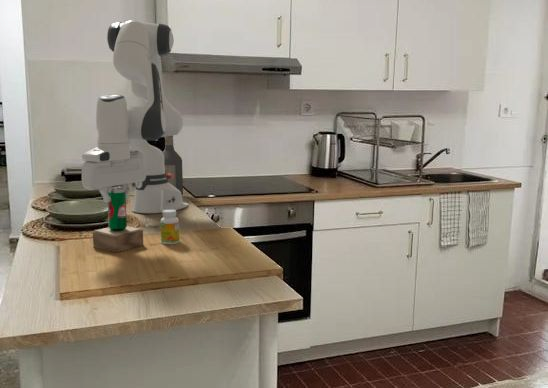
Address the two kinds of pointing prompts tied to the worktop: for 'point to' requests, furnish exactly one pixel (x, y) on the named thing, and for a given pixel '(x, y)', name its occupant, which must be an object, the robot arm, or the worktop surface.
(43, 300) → the worktop surface
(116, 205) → the soda can
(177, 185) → the liquor
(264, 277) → the worktop surface
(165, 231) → the supplement bottle
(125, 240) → the walnut block
